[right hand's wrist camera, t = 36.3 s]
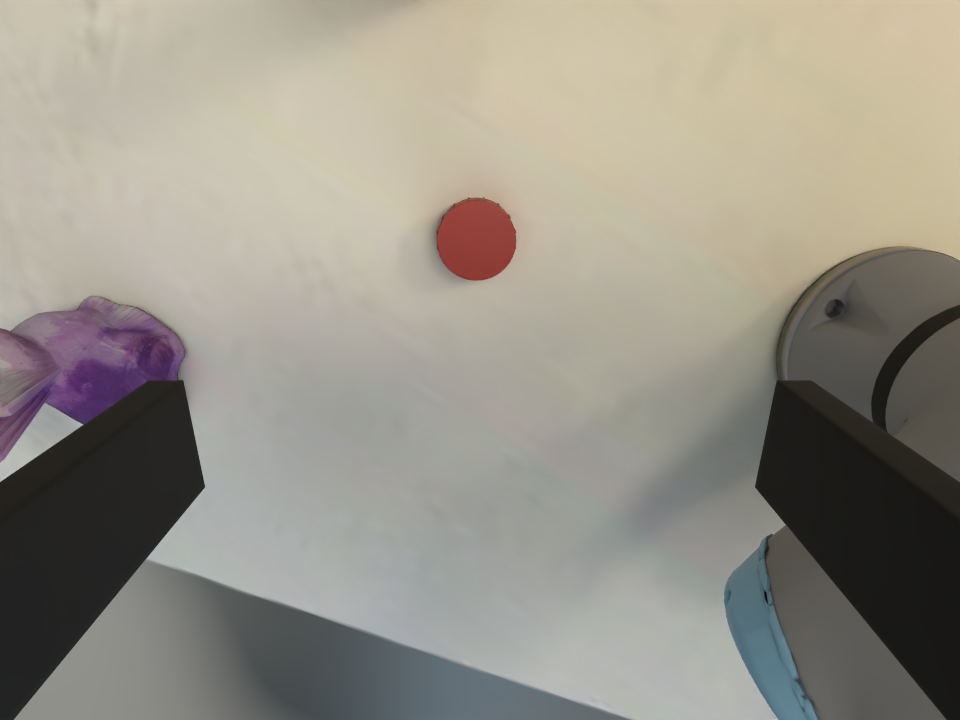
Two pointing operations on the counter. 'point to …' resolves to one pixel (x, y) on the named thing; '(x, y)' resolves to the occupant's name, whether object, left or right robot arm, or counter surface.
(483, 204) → the lid
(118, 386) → the figurine
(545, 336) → the counter surface
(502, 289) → the counter surface
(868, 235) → the counter surface
